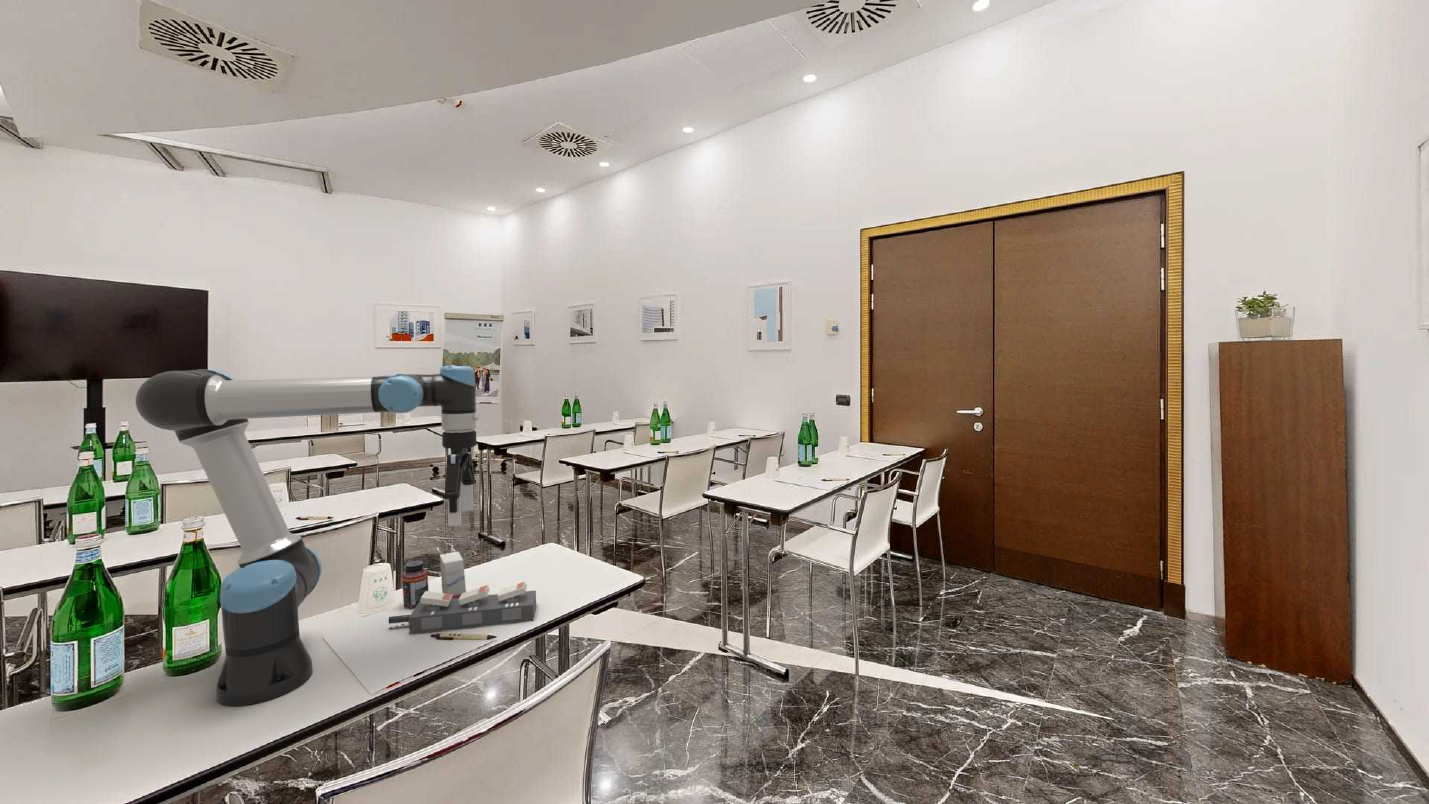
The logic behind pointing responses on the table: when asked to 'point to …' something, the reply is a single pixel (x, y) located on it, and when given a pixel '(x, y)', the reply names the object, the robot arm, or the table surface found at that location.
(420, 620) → the rocker switch strip
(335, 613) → the table surface
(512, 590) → the rocker
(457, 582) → the ink box
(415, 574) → the supplement bottle
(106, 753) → the table surface
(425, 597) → the rocker
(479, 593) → the rocker
